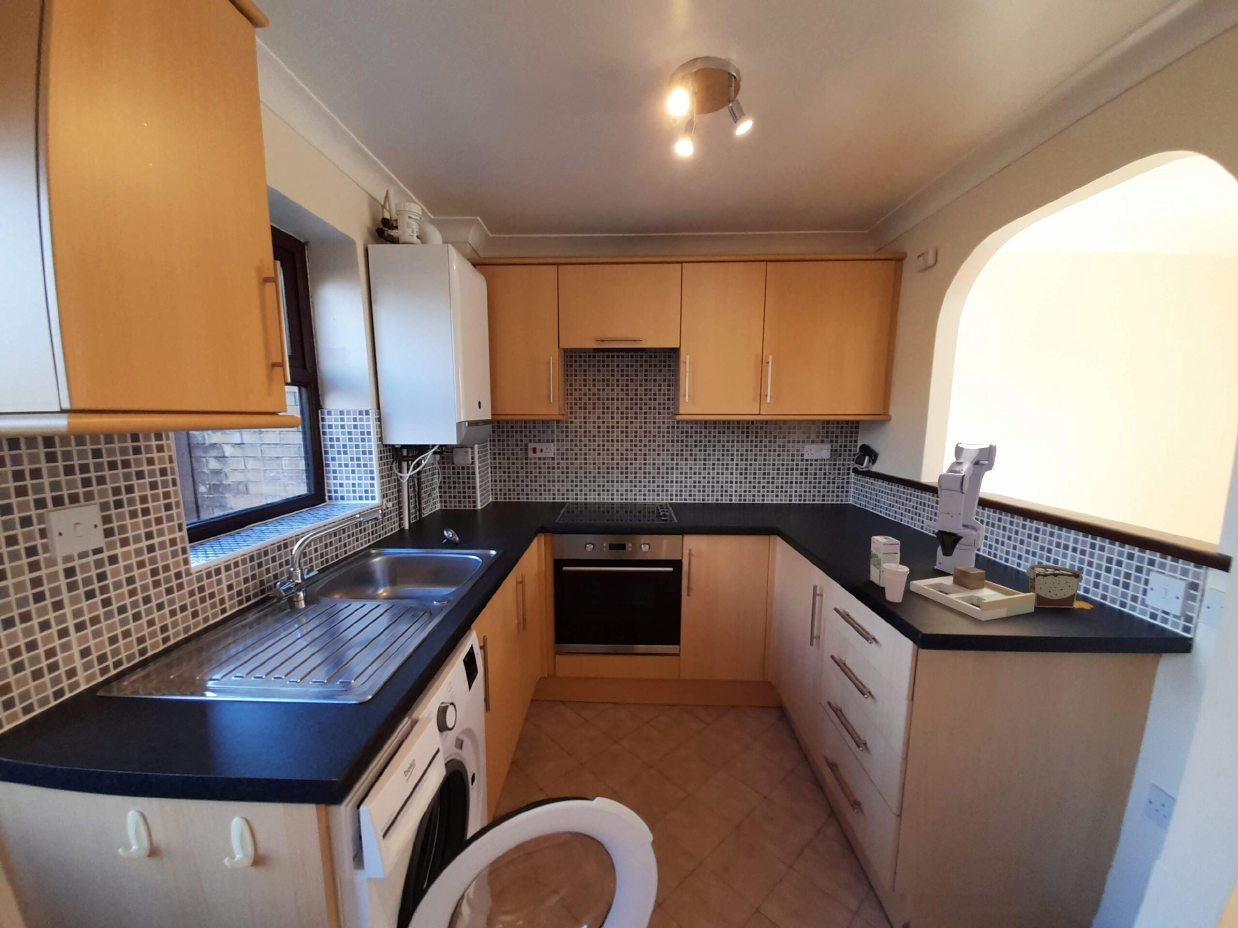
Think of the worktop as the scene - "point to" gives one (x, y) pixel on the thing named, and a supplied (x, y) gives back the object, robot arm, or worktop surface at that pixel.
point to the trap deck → (976, 598)
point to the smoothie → (895, 580)
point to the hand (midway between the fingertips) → (947, 555)
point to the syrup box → (882, 556)
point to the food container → (1053, 585)
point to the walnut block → (969, 577)
